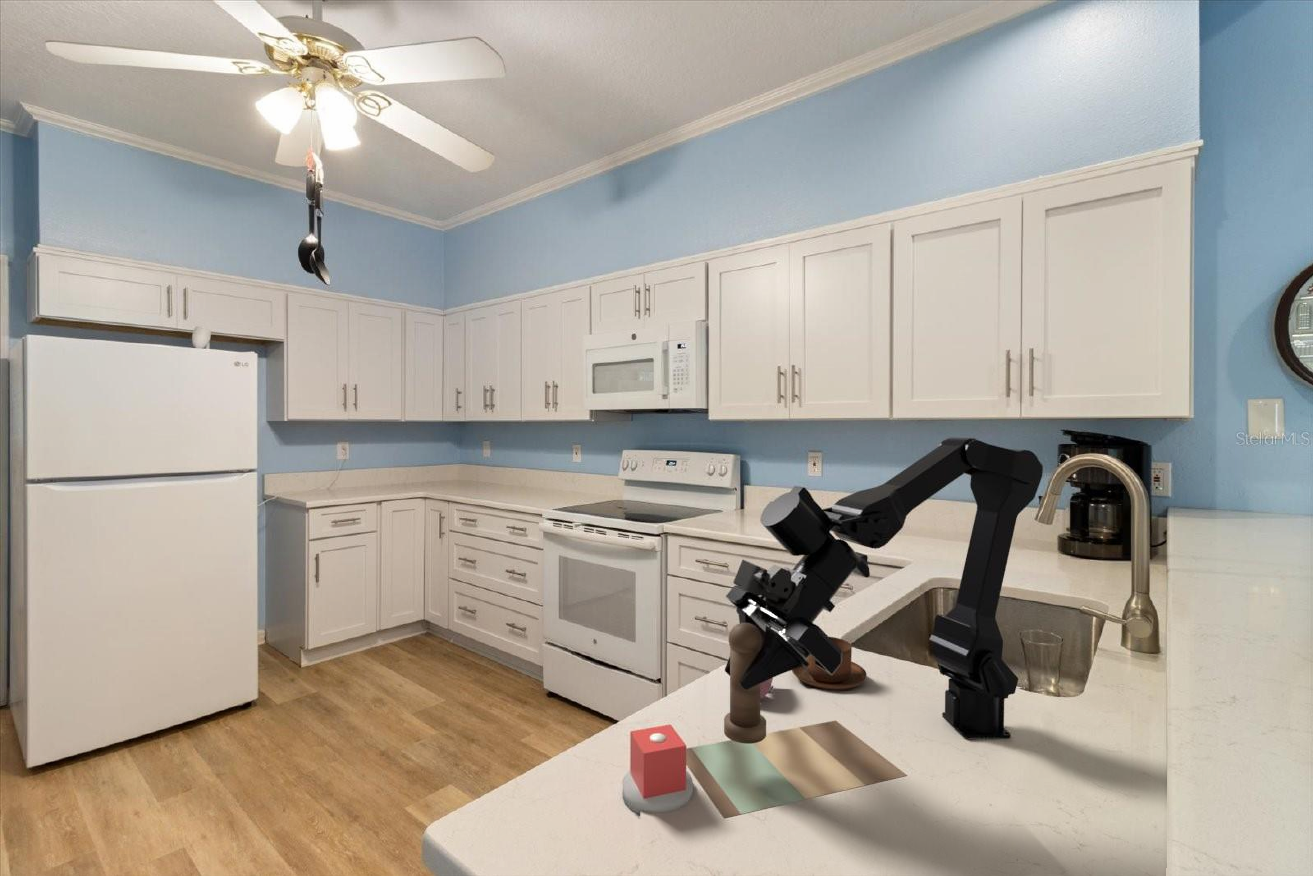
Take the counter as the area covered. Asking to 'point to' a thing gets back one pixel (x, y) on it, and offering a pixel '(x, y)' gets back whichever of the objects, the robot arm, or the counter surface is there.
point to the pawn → (744, 704)
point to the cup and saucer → (841, 679)
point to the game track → (786, 767)
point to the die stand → (657, 771)
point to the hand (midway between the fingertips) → (734, 680)
